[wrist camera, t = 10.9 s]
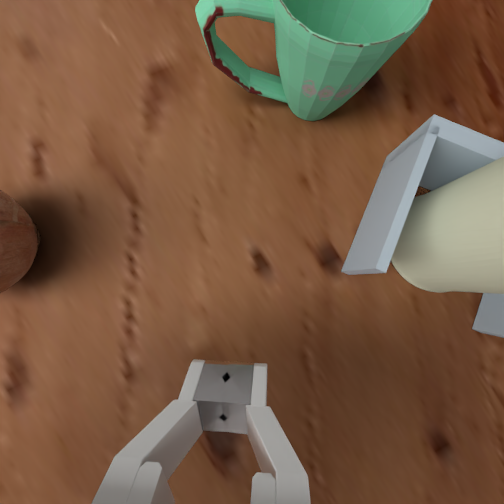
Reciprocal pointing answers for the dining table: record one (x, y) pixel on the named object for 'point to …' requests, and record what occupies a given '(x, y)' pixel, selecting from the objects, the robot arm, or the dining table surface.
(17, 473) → the dining table surface
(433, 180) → the holder
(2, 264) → the onion
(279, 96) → the mug
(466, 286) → the can
